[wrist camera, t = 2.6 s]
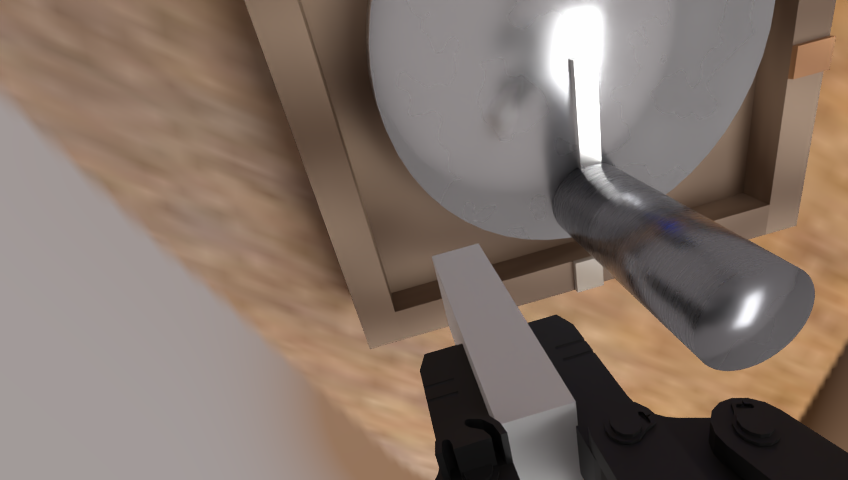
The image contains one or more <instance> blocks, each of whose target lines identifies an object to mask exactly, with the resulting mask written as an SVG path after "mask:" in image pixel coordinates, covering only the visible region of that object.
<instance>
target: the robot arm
mask: <svg viewBox="0 0 848 480" xmlns="http://www.w3.org/2000/svg"><path fill="white" fill-rule="evenodd" d="M432 260H433V264H434V268H435V272H436V276H437V280H438V284H439V288H440V292H441V296H442V300H443V304H444V308H445V312H446V316H447V320H448V324H449V327H450V330H451V333H452V336H453V339H454V341H455V344H456V345H455V346H451V347H448V348H445V349H441V350H438V351H434V352H431V353H427V354H425V355H424V358H423V362H422V365H421V369H420V373H421V377H422V381H423V386H424V390H425V395H426V399H427V403H428V408H429V412H430V416H431V421H432V425H433V429H434V434H435V438H436V441H435V456H436V459H437V462H438V465H439V472H438V475H437V477H436V479H435V480H583V479H584V480H848V453H847V452H846V451H844V450H842V449H841V448H839V447H838V446H836V445H835V444H833V443H832V442H830V441H828V440H827V439H825V438H824V437H822V436H821V435H819V434H818V433H816V432H814V431H813V430H811V429H810V428H808V427H807V426H805V425H803V424H802V423H800V422H799V421H797V420H796V419H794V418H793V417H791V416H790V415H788V414H786V413H785V412H783V411H782V410H780V409H778V408H776V407H774V406H772V405H770V404H768V403H766V402H762V401H758V400H754V399H750V398H731V399H728V400H725V401H722V402H720V403H719V404H718V405H717V406H716V407H715V408H714V409H713V410H712V414H711V418H673V417H664V416H660V415H657V414H654V413H653V412H652V411H651V410H650V409H649V408H647V407H644V406H642V405H640V404H638V403H636V402H633V401H632V400H631V399H630V398H629V397H628V396H627V395H626V393H625V392H624V391H623V389H622V388H621V387H620V385H619V384H618V383H617V382H616V380H615V379H614V378H613V376H612V375H611V374H610V372H609V371H608V370H607V368H606V367H605V366H604V364H603V363H602V362H601V360H600V359H599V358H598V356H597V355H596V354H595V353H593V350H592V349H591V347H590V346H589V345H588V343H587V342H586V341H584V338H583V337H582V335H581V334H580V333H579V331H578V330H577V329H576V328H575V326H574V325H573V324H572V323H570V322H568V321H566V320H565V319H563V318H561V317H560V316H558V315H553V316H550V317H546V318H543V319H540V320H536V321H533V322H529V323H527V322H526V320H525V318H524V317H523V315H522V313H521V312H520V310H519V309H518V307H517V305H516V304H515V302H514V300H513V299H512V297H511V295H510V294H509V292H508V291H507V289H506V287H505V286H504V284H503V282H502V281H501V279H500V278H499V276H498V274H497V273H496V271H495V269H494V268H493V266H492V265H491V263H490V261H489V260H488V258H487V256H486V255H485V253H484V252H483V250H482V248H481V247H480V245H479V243H478V244H474V245H471V246H467V247H463V248H460V249H456V250H453V251H449V252H446V253H442V254H439V255H435V256H432Z"/></svg>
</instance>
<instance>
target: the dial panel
mask: <svg viewBox="0 0 848 480" xmlns="http://www.w3.org/2000/svg"><path fill="white" fill-rule="evenodd" d="M244 1H245V4H246V7H247V9H248V12H249V15H250V18H251V20H252V23H253V26H254V29H255V32H256V34H257V37H258V40H259V43H260V45H261V48H262V51H263V54H264V56H265V59H266V62H267V65H268V68H269V70H270V73H271V76H272V79H273V81H274V84H275V87H276V90H277V92H278V95H279V98H280V101H281V104H282V106H283V109H284V112H285V115H286V117H287V120H288V123H289V126H290V128H291V131H292V134H293V137H294V140H295V142H296V145H297V148H298V151H299V153H300V156H301V159H302V162H303V164H304V167H305V170H306V173H307V176H308V178H309V181H310V184H311V187H312V189H313V192H314V195H315V198H316V200H317V203H318V206H319V209H320V212H321V214H322V217H323V220H324V223H325V225H326V228H327V231H328V234H329V236H330V239H331V242H332V245H333V248H334V250H335V253H336V256H337V259H338V261H339V264H340V267H341V270H342V272H343V275H344V278H345V281H346V284H347V286H348V289H349V292H350V295H351V297H352V300H353V303H354V306H355V308H356V311H357V314H358V317H359V320H360V322H361V325H362V328H363V331H364V333H365V336H366V339H367V342H368V344H369V347H370V349H372V348H375V347H379V346H382V345H386V344H389V343H393V342H396V341H400V340H403V339H406V338H410V337H413V336H417V335H420V334H424V333H427V332H431V331H434V330H437V329H441V328H444V327H448V326H449V324H448V320H447V316H446V312H445V308H444V304H443V300H442V296H441V292H440V288H439V284H438V280H437V276H436V272H435V268H434V264H433V260H432V256H435V255H439V254H442V253H446V252H449V251H453V250H456V249H460V248H463V247H467V246H471V245H474V244H478V243H479V245H480V247H481V248H482V250H483V252H484V253H485V255H486V256H487V258H488V260H489V261H490V263H491V265H492V266H493V268H494V269H495V271H496V273H497V274H498V276H499V278H500V279H501V281H502V282H503V284H504V286H505V287H506V289H507V291H508V292H509V294H510V295H511V297H512V299H513V300H514V302H515V304H516V305H517V306H520V305H524V304H527V303H531V302H534V301H538V300H541V299H544V298H548V297H551V296H555V295H558V294H562V293H565V292H569V291H572V290H576V291H577V292H581V291H585V290H588V289H591V288H595V287H598V286H602V285H604V281H607V280H610V279H614V277H613V276H612V275H611V274H610V273H609V272H608V271H607V270H606V269H605V268H604V267H602V266H601V265H600V264H599V263H598V262H597V261H596V260H595V259H594V258H593V257H592V256H591V255H590V254H589V253H588V252H587V251H586V250H585V249H584V248H583V247H581V246H580V245H579V244H578V243H577V242H576V241H575V240H574V239H573V238H572V237H571V238H562V239H552V240H531V239H521V238H514V237H508V236H503V235H500V234H496V233H493V232H490V231H486V230H483V229H481V228H479V227H477V226H475V225H472V224H470V223H468V222H466V221H464V220H462V219H461V218H459V217H458V216H456V215H454V214H453V213H451V212H450V211H448V210H446V209H445V208H444V207H443V206H442V205H440V204H439V203H438V202H437V201H436V200H435V199H433V198H432V197H431V196H430V195H429V194H428V193H427V192H426V191H425V190H424V189H423V188H422V187H421V186H420V184H419V183H418V182H417V181H416V180H415V179H414V178H413V176H412V175H411V174H410V172H409V171H408V169H407V168H406V166H405V165H404V163H403V162H402V160H401V159H400V157H399V156H398V154H397V152H396V150H395V148H394V146H393V144H392V142H391V140H390V138H389V136H388V134H387V132H386V129H385V127H384V124H383V122H382V120H381V117H380V114H379V111H378V108H377V105H376V102H375V99H374V96H373V92H372V87H371V82H370V77H369V72H368V66H367V52H366V20H367V7H368V1H369V0H244ZM835 3H836V0H775V5H774V11H773V17H772V23H771V28H770V32H769V35H768V39H767V43H766V46H765V50H764V53H763V57H762V59H761V62H760V65H759V67H758V70H757V72H756V75H755V78H754V80H753V83H752V85H751V87H750V89H749V91H748V93H747V95H746V97H745V99H744V101H743V103H742V105H741V107H740V109H739V110H738V112H737V114H736V115H735V117H734V118H733V120H732V122H731V123H730V125H729V127H728V128H727V130H726V131H725V133H724V134H723V135H722V137H721V138H720V139H719V141H718V142H717V143H716V145H715V146H714V147H713V149H712V150H711V151H710V153H709V154H708V155H707V156H706V157H705V158H704V159H703V160H702V161H701V163H700V164H699V165H698V166H697V167H696V168H695V169H694V170H693V171H692V172H691V173H690V174H689V175H688V176H687V177H686V178H685V179H684V180H683V181H681V182H680V183H679V184H678V185H677V186H676V187H675V188H674V189H672V190H671V191H670V192H668V193H667V194H666V195H667V196H669V197H671V198H673V199H675V200H676V201H678V202H680V203H682V204H684V205H685V206H687V207H689V208H691V209H693V210H695V211H696V212H698V213H700V214H702V215H704V216H705V217H707V218H709V219H711V220H713V221H715V222H716V223H718V224H720V225H722V226H724V227H725V228H727V229H729V230H731V231H733V232H735V233H736V234H738V235H740V236H742V237H744V238H745V239H747V240H748V239H752V238H755V237H759V236H762V235H765V234H769V233H772V232H776V231H779V230H783V229H786V228H790V227H793V226H796V224H797V218H798V213H799V207H800V201H801V196H802V190H803V184H804V179H805V173H806V167H807V162H808V156H809V150H810V145H811V139H812V133H813V128H814V122H815V116H816V111H817V105H818V99H819V94H820V88H821V82H822V77H823V71H826V70H830V65H831V60H832V54H833V49H834V44H835V38H836V36H830V31H831V26H832V20H833V14H834V9H835Z"/></svg>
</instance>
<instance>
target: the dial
mask: <svg viewBox="0 0 848 480" xmlns="http://www.w3.org/2000/svg"><path fill="white" fill-rule="evenodd" d="M774 5H775V0H369V1H368V7H367V20H366V52H367V66H368V72H369V77H370V82H371V87H372V92H373V96H374V99H375V102H376V105H377V108H378V111H379V114H380V117H381V120H382V122H383V124H384V127H385V129H386V132H387V134H388V136H389V138H390V140H391V142H392V144H393V146H394V148H395V150H396V152H397V154H398V156H399V157H400V159H401V160H402V162H403V163H404V165H405V166H406V168H407V169H408V171H409V172H410V174H411V175H412V176H413V178H414V179H415V180H416V181H417V182H418V183H419V184H420V186H421V187H422V188H423V189H424V190H425V191H426V192H427V193H428V194H429V195H430V196H431V197H432V198H433V199H435V200H436V201H437V202H438V203H439V204H440V205H442V206H443V207H444V208H445V209H446V210H448V211H450V212H451V213H453V214H454V215H456V216H458V217H459V218H461V219H462V220H464V221H466V222H468V223H470V224H472V225H475V226H477V227H479V228H481V229H483V230H486V231H490V232H493V233H496V234H500V235H503V236H508V237H514V238H521V239H531V240H552V239H562V238H571V237H572V238H573V239H574V240H575V241H576V242H577V243H578V244H579V245H580V246H581V247H583V248H584V249H585V250H586V251H587V252H588V253H589V254H590V255H591V256H592V257H593V258H594V259H595V260H596V261H597V262H598V263H599V264H600V265H601V266H602V267H604V268H605V269H606V270H607V271H608V272H609V273H610V274H611V275H612V276H613V277H614V278H615V279H616V280H617V281H618V282H619V283H620V284H621V285H622V286H623V287H625V288H626V289H627V290H628V291H629V292H630V293H631V294H632V295H633V296H634V297H635V298H636V299H637V300H638V301H639V302H640V303H641V304H642V305H643V306H644V307H646V308H647V309H648V310H649V311H650V312H651V313H652V314H653V315H654V316H655V317H656V318H657V319H658V320H659V321H660V322H661V323H662V324H663V325H664V326H665V327H666V328H668V329H669V330H670V331H671V332H672V333H673V334H674V335H675V336H676V337H677V338H678V339H679V340H680V341H681V342H682V343H683V344H684V345H685V346H686V347H687V348H689V349H690V350H691V351H692V352H693V353H694V354H695V355H696V356H697V357H698V358H699V359H700V360H701V361H702V362H703V363H704V364H706V365H707V366H709V367H711V368H713V369H716V370H721V371H735V370H741V369H745V368H749V367H752V366H754V365H757V364H759V363H761V362H763V361H765V360H767V359H769V358H770V357H772V356H773V355H775V354H777V353H778V352H779V351H780V350H782V349H783V348H784V347H785V346H787V345H788V344H789V343H790V342H791V341H792V340H793V339H794V338H795V337H796V335H797V334H798V333H799V332H800V330H801V329H802V328H803V326H804V325H805V323H806V321H807V319H808V318H809V316H810V313H811V311H812V308H813V304H814V298H815V290H814V285H813V282H812V280H811V278H810V277H809V275H808V274H807V273H806V272H805V271H803V270H802V269H800V268H798V267H796V266H795V265H793V264H791V263H789V262H787V261H785V260H784V259H782V258H780V257H778V256H776V255H775V254H773V253H771V252H769V251H767V250H765V249H764V248H762V247H760V246H758V245H756V244H755V243H753V242H751V241H749V240H747V239H745V238H744V237H742V236H740V235H738V234H736V233H735V232H733V231H731V230H729V229H727V228H725V227H724V226H722V225H720V224H718V223H716V222H715V221H713V220H711V219H709V218H707V217H705V216H704V215H702V214H700V213H698V212H696V211H695V210H693V209H691V208H689V207H687V206H685V205H684V204H682V203H680V202H678V201H676V200H675V199H673V198H671V197H669V196H667V195H666V194H667V193H668V192H670V191H671V190H672V189H674V188H675V187H676V186H677V185H678V184H679V183H680V182H681V181H683V180H684V179H685V178H686V177H687V176H688V175H689V174H690V173H691V172H692V171H693V170H694V169H695V168H696V167H697V166H698V165H699V164H700V163H701V161H702V160H703V159H704V158H705V157H706V156H707V155H708V154H709V153H710V151H711V150H712V149H713V147H714V146H715V145H716V143H717V142H718V141H719V139H720V138H721V137H722V135H723V134H724V133H725V131H726V130H727V128H728V127H729V125H730V123H731V122H732V120H733V118H734V117H735V115H736V114H737V112H738V110H739V109H740V107H741V105H742V103H743V101H744V99H745V97H746V95H747V93H748V91H749V89H750V87H751V85H752V83H753V80H754V78H755V75H756V72H757V70H758V67H759V65H760V62H761V59H762V57H763V53H764V50H765V46H766V43H767V39H768V35H769V32H770V28H771V23H772V17H773V11H774Z"/></svg>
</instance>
